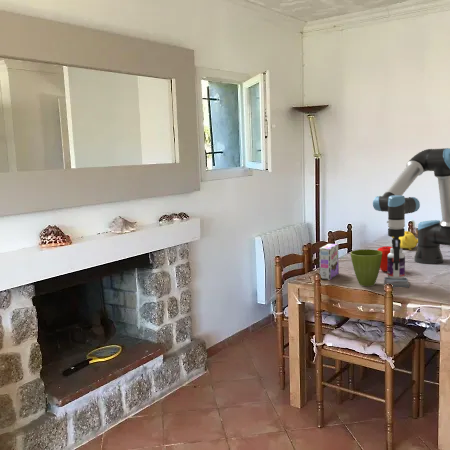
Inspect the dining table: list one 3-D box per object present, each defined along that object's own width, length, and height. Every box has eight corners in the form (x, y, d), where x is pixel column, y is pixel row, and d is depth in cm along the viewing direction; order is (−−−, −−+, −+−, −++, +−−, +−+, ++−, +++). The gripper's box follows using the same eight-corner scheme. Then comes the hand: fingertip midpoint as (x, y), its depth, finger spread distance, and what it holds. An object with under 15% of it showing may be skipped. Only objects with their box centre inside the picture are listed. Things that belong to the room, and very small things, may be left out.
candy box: (330, 280, 259) (329, 248, 257) (319, 279, 262) (318, 248, 260) (339, 273, 271) (338, 243, 268) (328, 272, 274) (328, 243, 271)
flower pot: (346, 286, 247) (346, 254, 244) (356, 279, 259) (355, 248, 257) (377, 289, 239) (377, 256, 236) (385, 281, 251) (385, 250, 249)
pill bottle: (391, 280, 241) (391, 250, 239) (384, 276, 249) (384, 247, 247) (407, 279, 242) (408, 249, 240) (400, 275, 250) (400, 246, 248)
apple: (398, 274, 265) (398, 248, 263) (374, 273, 269) (374, 248, 267) (398, 268, 276) (398, 244, 274) (376, 267, 280) (376, 244, 278)
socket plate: (407, 281, 250) (407, 277, 249) (408, 287, 239) (408, 283, 239) (384, 281, 253) (384, 277, 253) (384, 287, 242) (384, 283, 242)
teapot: (425, 246, 327) (426, 229, 325) (419, 252, 312) (420, 234, 310) (394, 244, 338) (394, 228, 336) (386, 250, 323) (386, 232, 321)
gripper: (387, 224, 253) (387, 268, 256) (388, 231, 233) (388, 279, 236) (403, 224, 251) (403, 269, 254) (405, 231, 231) (405, 280, 234)
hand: (396, 274), depth 245 cm, fingers closed on pill bottle, 8 cm apart
